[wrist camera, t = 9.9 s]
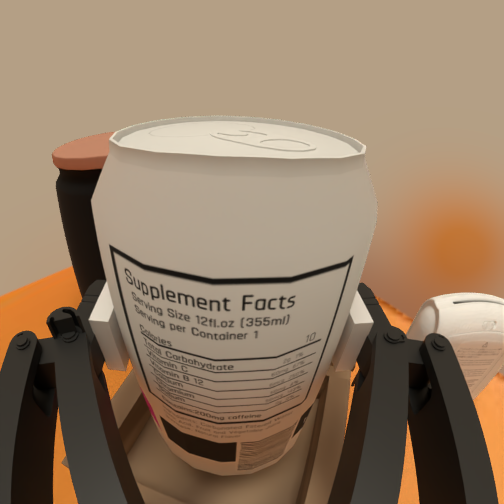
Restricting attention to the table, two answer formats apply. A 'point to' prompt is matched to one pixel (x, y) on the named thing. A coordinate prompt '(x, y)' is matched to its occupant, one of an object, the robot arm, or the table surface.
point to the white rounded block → (466, 332)
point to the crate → (236, 486)
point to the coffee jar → (81, 203)
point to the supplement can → (232, 274)
